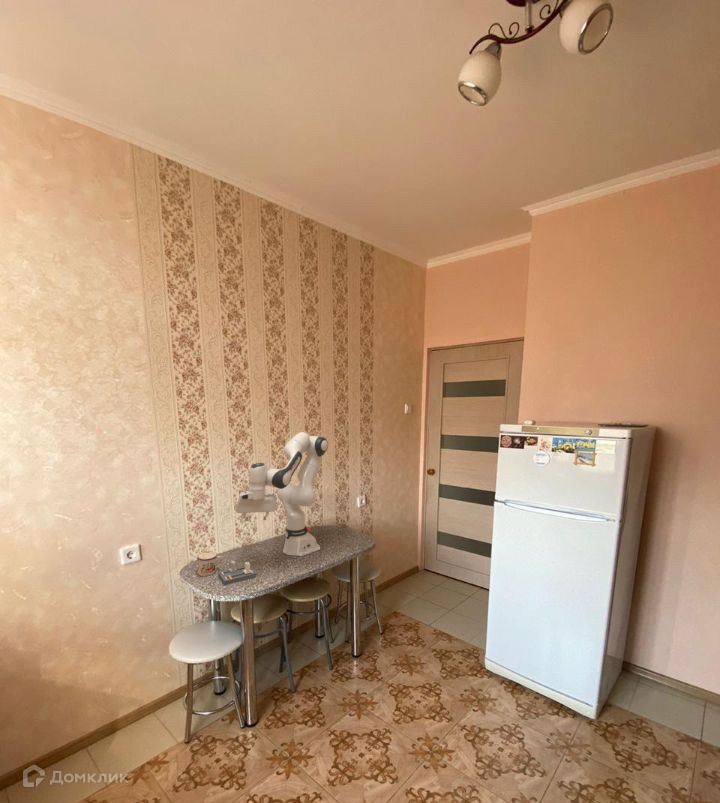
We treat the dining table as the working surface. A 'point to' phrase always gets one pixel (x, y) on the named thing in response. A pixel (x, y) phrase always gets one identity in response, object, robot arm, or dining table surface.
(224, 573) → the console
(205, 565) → the teacup with lid
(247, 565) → the cap
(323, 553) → the dining table surface
